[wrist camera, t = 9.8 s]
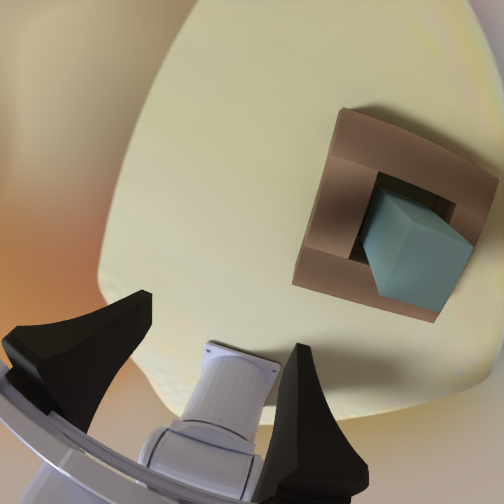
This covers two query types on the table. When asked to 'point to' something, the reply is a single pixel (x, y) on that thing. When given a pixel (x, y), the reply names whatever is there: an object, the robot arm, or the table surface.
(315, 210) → the well block
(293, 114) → the table surface
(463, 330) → the table surface
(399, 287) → the bracket post
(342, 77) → the table surface
